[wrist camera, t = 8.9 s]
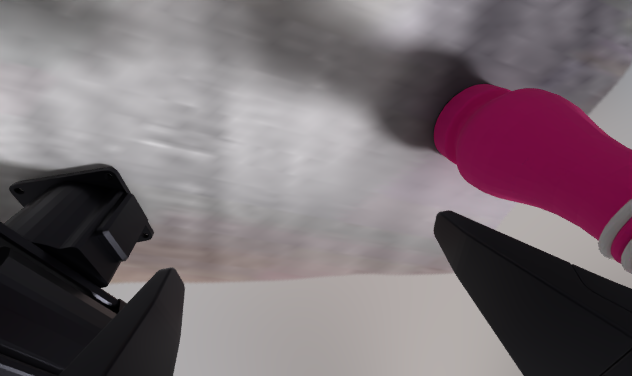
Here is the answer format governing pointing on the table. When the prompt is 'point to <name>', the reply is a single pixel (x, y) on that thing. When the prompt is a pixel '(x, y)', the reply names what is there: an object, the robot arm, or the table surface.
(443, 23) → the table surface
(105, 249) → the robot arm
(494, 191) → the pepper mill
